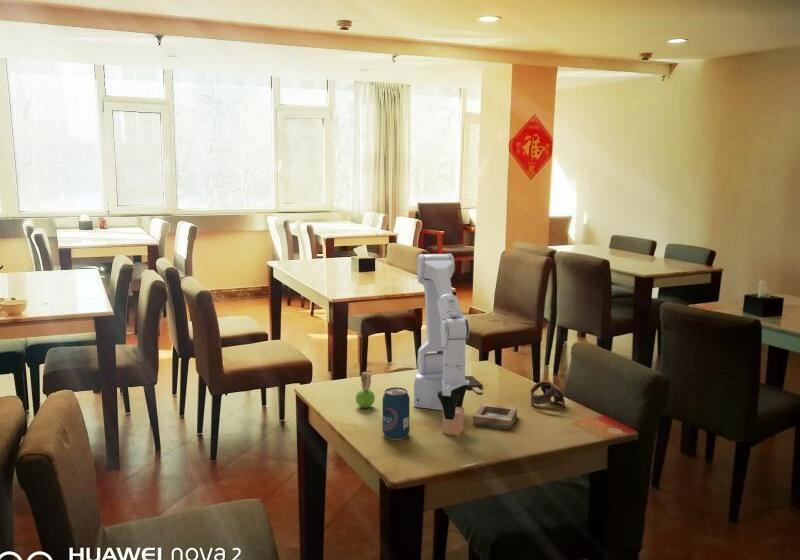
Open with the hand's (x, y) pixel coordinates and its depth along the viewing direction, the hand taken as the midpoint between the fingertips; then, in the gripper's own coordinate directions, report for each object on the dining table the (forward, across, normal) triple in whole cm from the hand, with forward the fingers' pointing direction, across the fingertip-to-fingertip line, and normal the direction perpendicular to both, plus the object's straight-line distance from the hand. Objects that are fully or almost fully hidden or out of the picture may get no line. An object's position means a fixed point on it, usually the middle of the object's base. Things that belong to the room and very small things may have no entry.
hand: (453, 414), depth 175 cm
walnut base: (+5, +11, -9) cm, 15 cm away
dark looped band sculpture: (+5, +29, -21) cm, 36 cm away
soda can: (+5, -8, +13) cm, 16 cm away
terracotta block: (+5, 0, 0) cm, 5 cm away
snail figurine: (+5, +8, +28) cm, 30 cm away
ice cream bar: (+5, +37, +4) cm, 38 cm away
